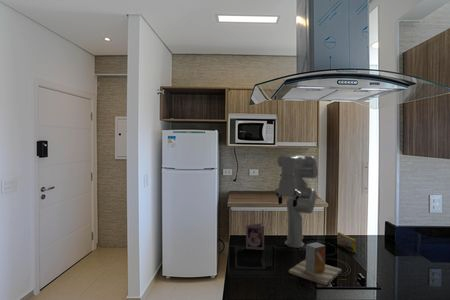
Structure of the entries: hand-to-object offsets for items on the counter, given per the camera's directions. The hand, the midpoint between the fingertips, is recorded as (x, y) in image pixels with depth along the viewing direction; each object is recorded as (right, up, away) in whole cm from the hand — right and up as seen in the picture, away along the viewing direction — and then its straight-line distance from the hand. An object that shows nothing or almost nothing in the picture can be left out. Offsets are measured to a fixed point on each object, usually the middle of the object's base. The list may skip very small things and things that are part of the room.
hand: (287, 205), depth 173 cm
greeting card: (-18, -30, +12) cm, 37 cm away
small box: (+10, -30, -23) cm, 39 cm away
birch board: (+10, -31, -23) cm, 40 cm away
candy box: (+41, -31, +13) cm, 53 cm away
